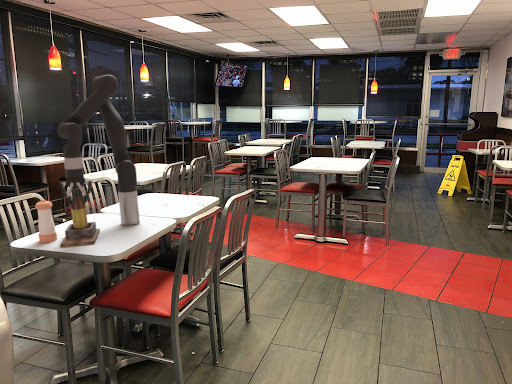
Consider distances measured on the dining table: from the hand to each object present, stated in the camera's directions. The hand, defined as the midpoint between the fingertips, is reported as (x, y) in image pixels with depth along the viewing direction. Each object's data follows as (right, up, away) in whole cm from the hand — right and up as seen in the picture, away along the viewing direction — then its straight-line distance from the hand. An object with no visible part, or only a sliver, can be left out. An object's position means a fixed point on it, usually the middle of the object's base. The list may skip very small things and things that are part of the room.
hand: (78, 203), depth 188 cm
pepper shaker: (-14, -17, +1) cm, 22 cm away
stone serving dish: (+1, -17, +1) cm, 17 cm away
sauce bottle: (0, -12, +3) cm, 13 cm away
